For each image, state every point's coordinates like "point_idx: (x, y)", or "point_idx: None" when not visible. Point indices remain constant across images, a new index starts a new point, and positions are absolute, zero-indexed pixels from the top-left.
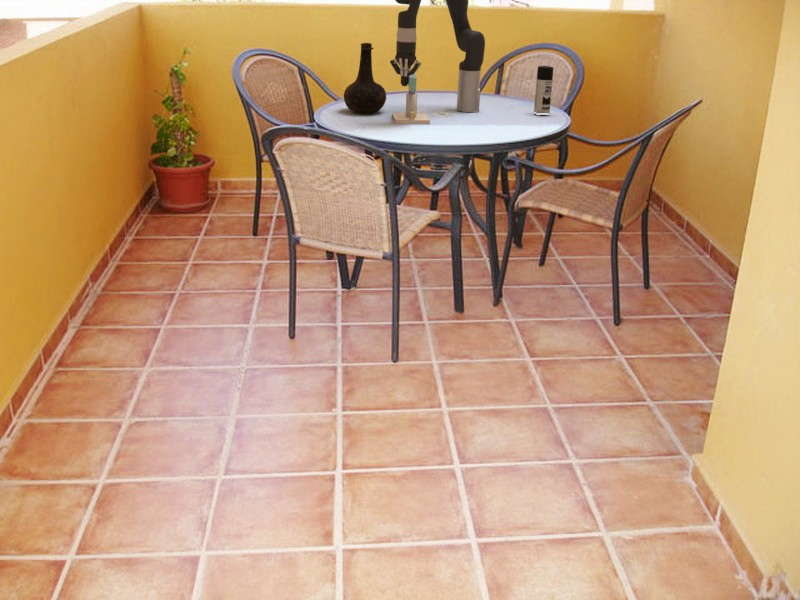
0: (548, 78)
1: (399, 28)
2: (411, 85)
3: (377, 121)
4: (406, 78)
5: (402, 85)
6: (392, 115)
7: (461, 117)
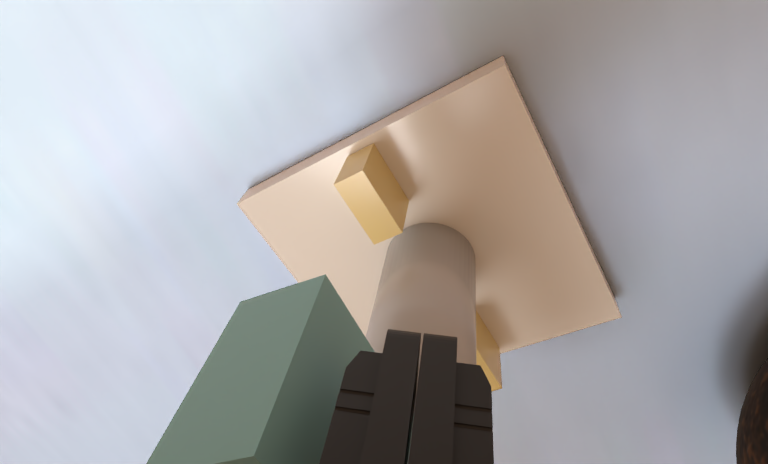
0: None
1: None
2: (270, 348)
3: (707, 65)
4: (344, 459)
5: (443, 336)
6: (609, 289)
7: None
